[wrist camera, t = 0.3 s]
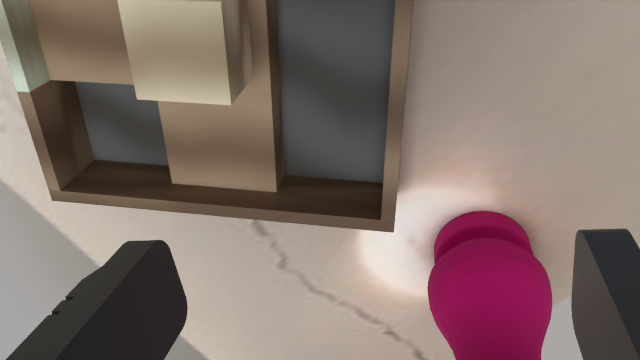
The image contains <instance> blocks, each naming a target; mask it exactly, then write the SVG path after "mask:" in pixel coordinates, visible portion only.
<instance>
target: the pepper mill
mask: <svg viewBox="0 0 640 360" xmlns="http://www.w3.org/2000/svg"><path fill="white" fill-rule="evenodd" d="M434 257H435V266H434V267H433V269H432V271H431V273H430V276H429V281H428V297H429V304H430V310H431V312H432V315H433V317H434V320H435V322H436V324H437V327H438V328H439V330H440V331H441V333H442V334H443V336H444V337H445V339H446V340H447V342H448V343H449V345H450V347H451V349H452V350H453V353H454V356H455V358H456V360H541V349H542V345H543V341H544V337H545V334H546V331H547V328H548V325H549V322H550V319H551V311H552V292H551V286H550V281H549V278H548V275H547V272H546V271H545V269H544V267H543V266H542V264H541V263H540V262H539V261H538V260H537V259H536V258H535V257H534V256H533V253H532V250H531V246H530V243H529V239H528V237H527V234H526V233H525V231H524V230H523V229H522V227H521V226H520V225H519V224H517V223H516V222H515V221H513V220H512V219H510V218H508V217H506V216H503V215H501V214H496V213H491V212H474V213H470V214H466V215H462V216H460V217H458V218H456V219H454V220H452V221H451V222H450V223H448V224H447V225H446V226H445V227H444V228H443V229H442V230H441V231H440V233H439V235H438V237H437V238H436V242H435V246H434Z"/></svg>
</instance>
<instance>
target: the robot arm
mask: <svg viewBox="0 0 640 360" xmlns="http://www.w3.org/2000/svg"><path fill="white" fill-rule="evenodd" d="M186 317H187V300H186V296H185V293H184V290H183V287H182V284H181V281H180V278H179V275H178V272H177V269H176V266H175V263H174V260H173V257H172V254H171V251H170V248H169V246H168V245H167V244H166V243H165V242H164V241H162V240H150V241H128V242H126V243H124V244H123V245H122V246H121V247H120V248H119V249H118V250H117V251H116V253H115V254H114V255H113V256H112V257H111V258H110V259H109V260H108V261H107V262H106V263H105V264H104V265H103V266H102V267H100V268H99V269H97V270H96V271H94V272H93V273H92V274H90V275H88V276H87V277H85V278H84V279H82V280H81V282H79V284H78V285H77V286H76V287H75V288H74V289H73V290H72V291H71V292H70V293H69V294H68V295H67V296H66V300H63V301H61V302H60V303H59V305H57V307H56V308H55V309H54V310H53V311H52V315H49V316H47V317H46V318H45V319H44V320H43V321H42V322H41V323H40V324H39V325H38V327H36V329H35V330H34V331H33V332H32V333H31V334H30V335H29V336H28V337H27V338H26V339H25V340H24V341H23V342H22V343H21V344H20V345H19V346H18V347H17V348H16V349H15V351H14V352H13V353H12V354H11V355H10V356H9V357H8V358H7V359H6V360H164V359H165V357H166V355H167V354H168V352H169V350H170V348H171V347H172V345H173V344H174V342H175V340H176V339H177V337H178V335H179V334H180V332H181V331H182V329H183V327H184V324H185V321H186ZM572 318H573V325H574V331H575V335H576V338H577V341H578V344H579V347H580V351H581V353H582V357H583V360H640V249H639V247H638V245H637V244H636V242H635V240H634V238H633V237H632V235H631V233H630V232H629V231H628V230H627V229H595V230H578V232H577V234H576V239H575V253H574V269H573V285H572Z"/></svg>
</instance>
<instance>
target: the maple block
mask: <svg viewBox="0 0 640 360" xmlns="http://www.w3.org/2000/svg"><path fill="white" fill-rule="evenodd" d="M117 1H118V6H119V11H120V16H121V21H122V26H123V31H124V36H125V42H126V47H127V52H128V57H129V62H130V67H131V72H132V77H133V82H134V87H135V92H136V97H137V99H138V100H154V101H170V102H186V103H202V104H218V105H232V104H233V102H234V101H235V100H236V99H237V97H238V96H239V95H240V93H241V92H242V91H243V90H244V88H245V87H246V86H247V84H248V83H249V82H250V81H251V79H252V78H253V71H252V58H251V45H250V31H249V18H248V4H247V0H117Z"/></svg>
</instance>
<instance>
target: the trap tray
mask: <svg viewBox="0 0 640 360" xmlns="http://www.w3.org/2000/svg"><path fill="white" fill-rule="evenodd" d="M247 4H248V18H249V31H250V45H251V58H252V71H253V78H252V79H251V81H250V82H249V83H248V84H247V86H246V87H245V88H244V90H243V91H242V92H241V93H240V95H239V96H238V97H237V99H236V100H235V101H234V102H233V104H232V105H218V104H202V103H186V102H170V101H154V100H138V99H137V97H136V92H135V87H134V82H133V77H132V72H131V67H130V62H129V57H128V52H127V47H126V42H125V36H124V31H123V26H122V21H121V16H120V11H119V6H118V1H117V0H0V40H1V43H2V46H3V49H4V52H5V56H6V59H7V62H8V65H9V68H10V71H11V74H12V77H13V80H14V84H15V87H16V90H17V93H18V96H19V99H20V102H21V105H22V108H23V111H24V115H25V118H26V121H27V124H28V127H29V130H30V133H31V136H32V139H33V143H34V146H35V149H36V152H37V155H38V158H39V161H40V164H41V167H42V170H43V174H44V177H45V180H46V183H47V186H48V189H49V192H50V195H51V198H52V200H53V201H63V202H74V203H85V204H95V205H106V206H117V207H127V208H138V209H149V210H159V211H170V212H181V213H191V214H202V215H213V216H223V217H234V218H245V219H255V220H266V221H277V222H287V223H298V224H309V225H319V226H330V227H341V228H351V229H362V230H373V231H383V232H394V222H395V210H396V199H397V187H398V175H399V163H400V151H401V139H402V127H403V115H404V103H405V91H406V79H407V67H408V55H409V43H410V31H411V19H412V7H413V0H247Z"/></svg>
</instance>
